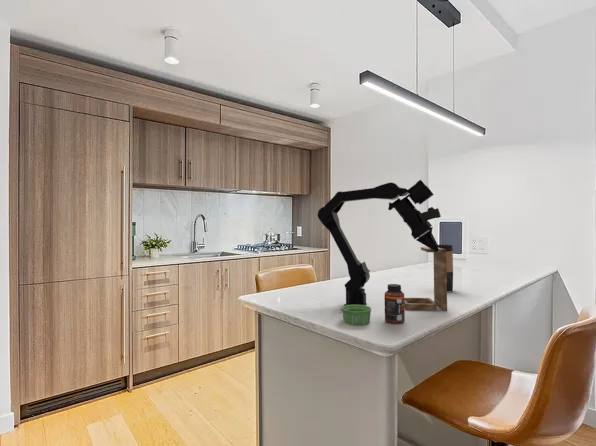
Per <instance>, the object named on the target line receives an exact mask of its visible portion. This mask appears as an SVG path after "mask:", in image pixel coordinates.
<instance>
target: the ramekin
mask: <svg viewBox="0 0 596 446" xmlns="http://www.w3.org/2000/svg"><path fill="white" fill-rule="evenodd" d="M341 310H342V319H343V322H344V323H345V324H348V325H352V326H365V325H368V324H370V322H371V311H372V308H371V307H370V306H368V305H346V306H344V305H343V306H342V307H341Z"/></svg>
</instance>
